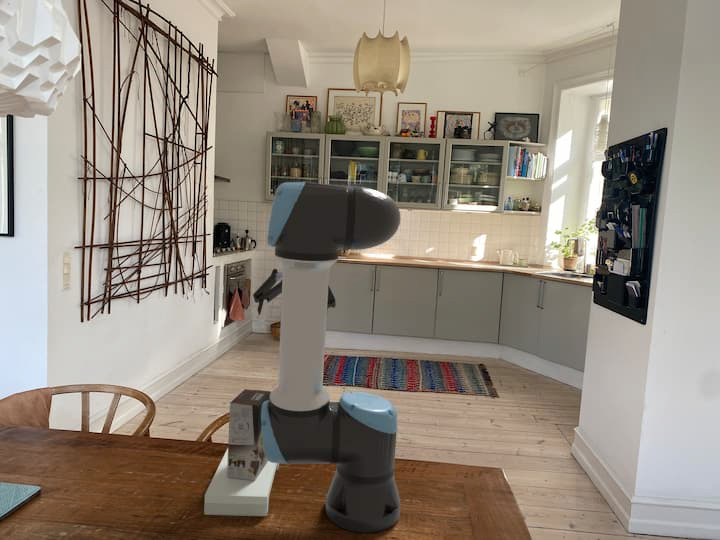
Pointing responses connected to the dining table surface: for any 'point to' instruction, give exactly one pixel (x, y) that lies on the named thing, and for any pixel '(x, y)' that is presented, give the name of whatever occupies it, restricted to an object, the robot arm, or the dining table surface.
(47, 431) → the dining table surface
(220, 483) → the shelf step
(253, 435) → the coffee box
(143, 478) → the dining table surface
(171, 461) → the dining table surface
